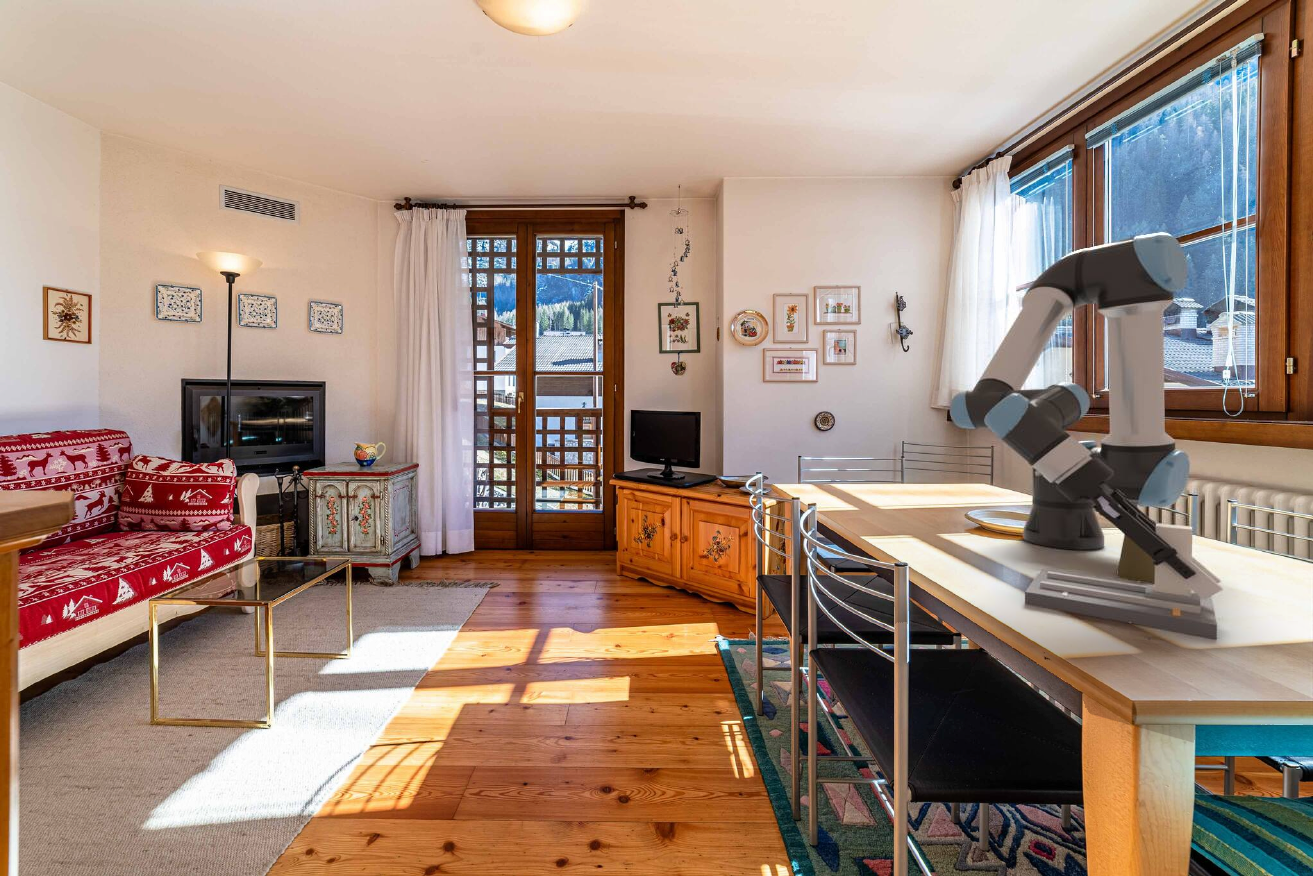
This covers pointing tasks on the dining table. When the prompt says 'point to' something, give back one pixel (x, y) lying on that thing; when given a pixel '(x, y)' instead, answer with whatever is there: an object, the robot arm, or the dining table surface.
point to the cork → (1135, 563)
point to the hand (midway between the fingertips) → (1212, 589)
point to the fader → (1165, 580)
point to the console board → (1119, 603)
